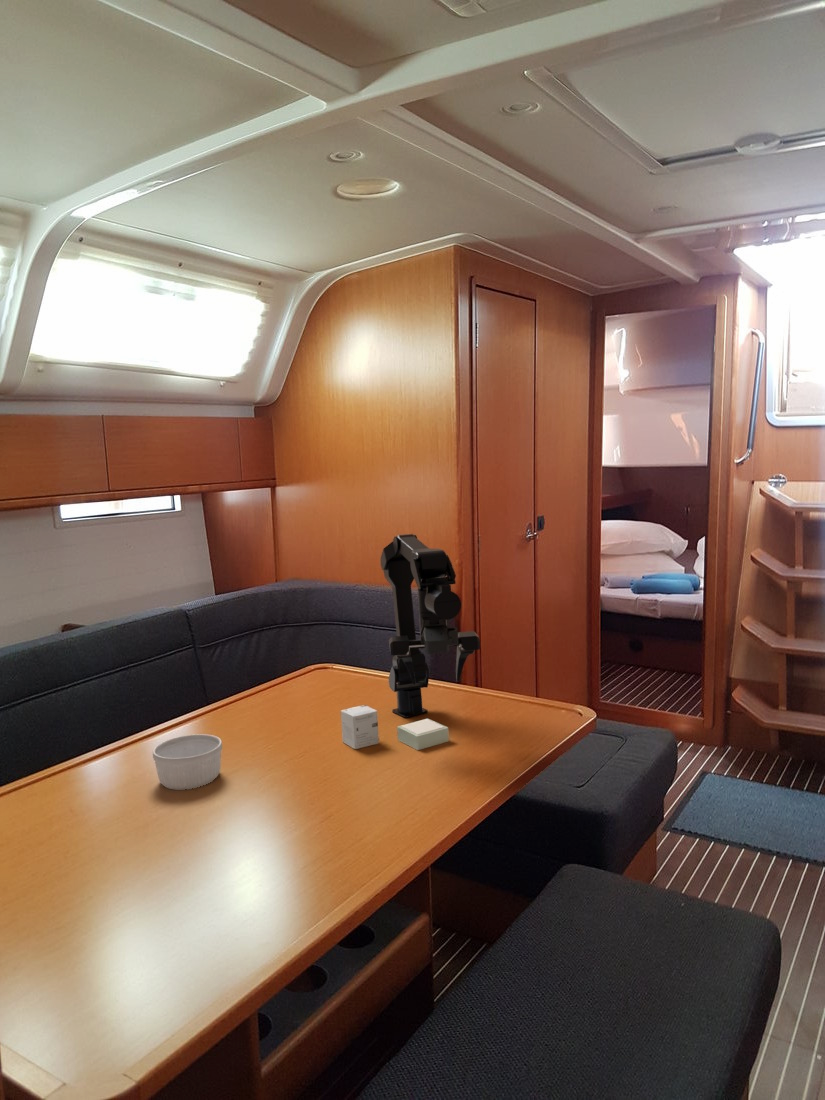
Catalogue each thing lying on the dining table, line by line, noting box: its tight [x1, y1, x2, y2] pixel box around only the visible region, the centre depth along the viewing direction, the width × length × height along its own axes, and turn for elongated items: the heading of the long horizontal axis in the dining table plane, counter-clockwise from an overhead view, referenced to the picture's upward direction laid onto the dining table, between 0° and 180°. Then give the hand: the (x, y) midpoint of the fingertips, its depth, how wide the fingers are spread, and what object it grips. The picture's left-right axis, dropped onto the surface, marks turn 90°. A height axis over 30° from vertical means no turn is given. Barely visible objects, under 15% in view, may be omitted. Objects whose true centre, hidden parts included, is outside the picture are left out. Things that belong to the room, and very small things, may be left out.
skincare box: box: [340, 704, 380, 750], centre depth 166 cm, size 6×6×7 cm
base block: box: [396, 718, 450, 751], centre depth 165 cm, size 8×8×3 cm
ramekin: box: [152, 733, 223, 791], centre depth 151 cm, size 13×13×7 cm
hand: (436, 682), depth 162 cm, fingers open, 9 cm apart
